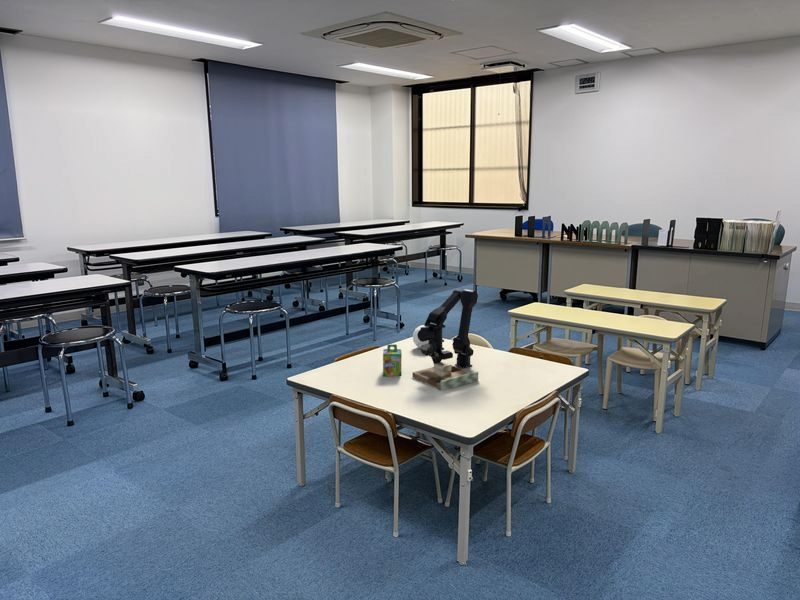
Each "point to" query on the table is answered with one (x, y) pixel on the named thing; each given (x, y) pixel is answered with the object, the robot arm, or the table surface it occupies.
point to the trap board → (446, 378)
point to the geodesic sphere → (415, 337)
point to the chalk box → (392, 361)
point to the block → (442, 368)
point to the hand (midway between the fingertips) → (436, 368)
